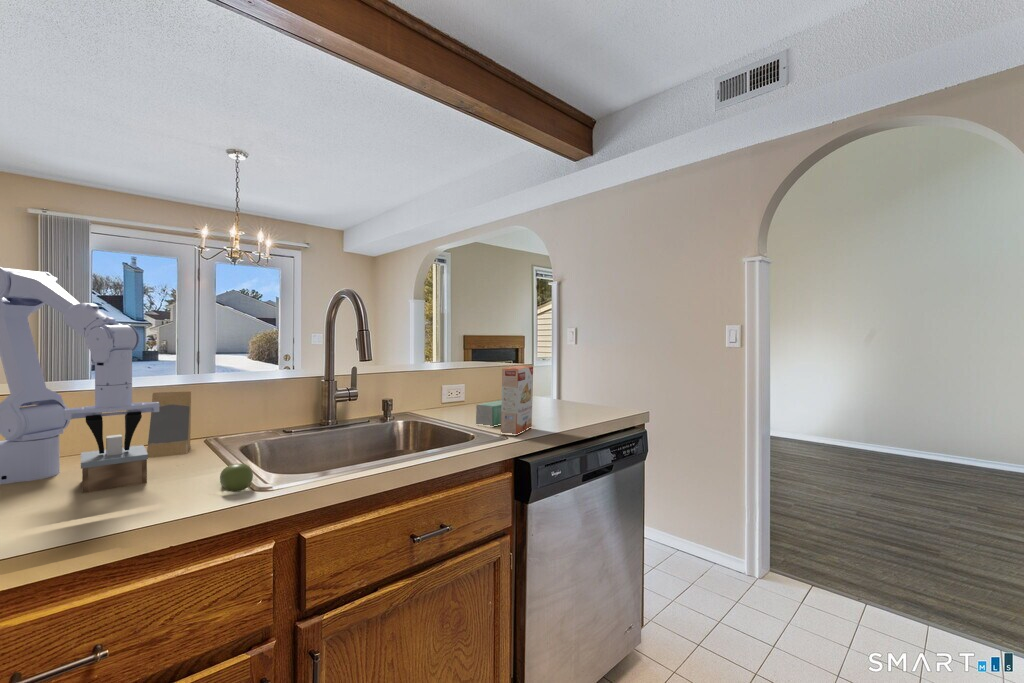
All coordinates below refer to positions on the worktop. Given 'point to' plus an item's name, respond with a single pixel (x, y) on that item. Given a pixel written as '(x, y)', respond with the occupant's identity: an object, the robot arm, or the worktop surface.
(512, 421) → the cracker box
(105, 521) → the worktop surface
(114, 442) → the lid
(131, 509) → the worktop surface
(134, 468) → the walnut box
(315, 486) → the worktop surface
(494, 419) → the box
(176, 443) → the sandwich container
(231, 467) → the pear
